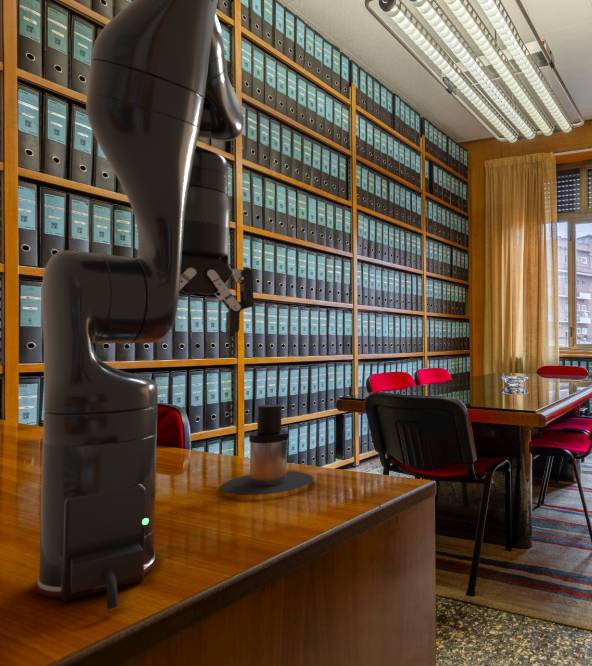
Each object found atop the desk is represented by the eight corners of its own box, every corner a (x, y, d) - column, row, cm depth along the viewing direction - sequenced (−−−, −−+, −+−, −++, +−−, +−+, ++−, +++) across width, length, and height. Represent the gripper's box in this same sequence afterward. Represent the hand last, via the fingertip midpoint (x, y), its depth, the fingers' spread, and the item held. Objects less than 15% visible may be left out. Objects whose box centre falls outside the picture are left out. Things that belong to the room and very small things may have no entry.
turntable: (327, 488, 83) (327, 482, 83) (236, 507, 73) (236, 500, 73) (293, 472, 93) (293, 467, 93) (209, 487, 83) (209, 481, 83)
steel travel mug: (293, 482, 83) (294, 405, 83) (255, 489, 79) (257, 408, 79) (275, 472, 89) (276, 401, 89) (238, 478, 85) (240, 404, 85)
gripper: (245, 235, 80) (243, 337, 79) (135, 220, 70) (133, 335, 70) (260, 228, 74) (258, 336, 74) (143, 210, 64) (140, 335, 64)
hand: (197, 336), depth 72 cm, fingers open, 8 cm apart
